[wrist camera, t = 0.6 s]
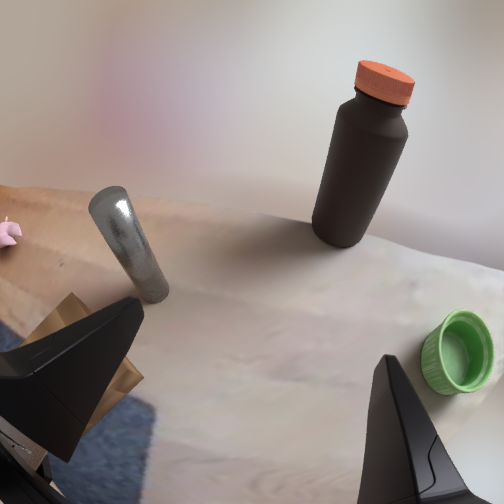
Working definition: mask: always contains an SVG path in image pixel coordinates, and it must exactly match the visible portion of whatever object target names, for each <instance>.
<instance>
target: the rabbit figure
mask: <svg viewBox="0 0 504 504" xmlns="http://www.w3.org/2000/svg"><path fill="white" fill-rule="evenodd" d="M7 220H8V217H6V218H5V222H2V223H0V248H2V247H5V246H7V245H16V242H15V240H14V239H13V238H14V236H19V237H21V236H22V233H21V230H20V228H19V225H18V224H17V223H13V222H7Z"/></svg>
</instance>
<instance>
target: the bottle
mask: <svg viewBox="0 0 504 504" xmlns="http://www.w3.org/2000/svg"><path fill="white" fill-rule="evenodd" d="M414 84H415V82H414V80H413V79H411V77H409V76H408V75H406V74H405V73H402V72H401V71H399V70H397V69H394V68H392V67H389V66H386V65H384V64H380V63H377V62H372V61H365V60H363V61H360V62H359V63H358V68H357V73H356V79H355V87H354V89H355V91H356V97H355V98H353V99H351V100H349V101H347V102H345V103H344V104H342V105H340V107H339V109H338V112H337V116H336V120H335V125H334V130H333V134H332V139H331V143H330V147H329V152H328V156H327V160H326V164H325V168H324V172H323V176H322V180H321V184H320V188H319V192H318V196H317V200H316V204H315V208H314V211H313V215H312V226H313V228H314V231H315V233H316V234H317V235H318V236H319V237H320V238H321V239H322V240H324V241H325V242H327V243H328V244H331V245H334V246H337V247H349V246H353V245H355V244H356V243H358V242H359V241H360V240H361V238H362V237H363V235H364V233H365V231H366V229H367V227H368V226H369V224H370V222H371V219H372V218H373V215H374V213H375V211H376V209H377V207H378V205H379V203H380V201H381V199H382V197H383V195H384V192H385V190H386V188H387V186H388V184H389V181H390V179H391V177H392V175H393V172H394V170H395V168H396V165H397V163H398V161H399V158H400V155H401V153H402V151H403V148H404V146H405V143H406V141H407V138H408V130H407V127H406V125H405V122H404V120H403V118H402V116H401V113H402V110H403V109H406V108H407V104H408V103H409V101H410V97H411V94H412V91H413V87H414Z"/></svg>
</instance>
